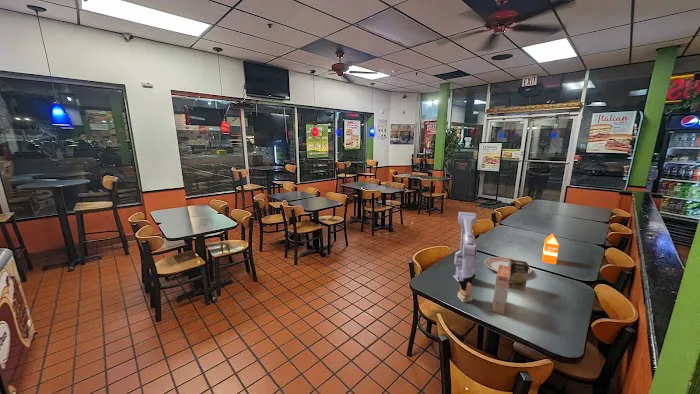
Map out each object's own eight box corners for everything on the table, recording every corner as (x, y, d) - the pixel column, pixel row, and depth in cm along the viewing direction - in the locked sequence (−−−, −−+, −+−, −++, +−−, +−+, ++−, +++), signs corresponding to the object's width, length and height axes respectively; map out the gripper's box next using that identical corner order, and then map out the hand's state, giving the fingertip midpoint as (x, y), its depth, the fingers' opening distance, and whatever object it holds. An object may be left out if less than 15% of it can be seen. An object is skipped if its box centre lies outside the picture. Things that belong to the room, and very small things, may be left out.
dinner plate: (486, 275, 175) (486, 270, 174) (482, 258, 200) (483, 253, 199) (535, 283, 165) (536, 278, 164) (525, 264, 189) (526, 259, 189)
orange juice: (554, 259, 195) (559, 234, 191) (556, 264, 188) (560, 237, 184) (541, 257, 199) (545, 232, 195) (542, 261, 192) (546, 235, 188)
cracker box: (504, 315, 134) (509, 278, 130) (491, 311, 138) (495, 274, 133) (506, 301, 146) (511, 266, 141) (494, 298, 149) (498, 263, 144)
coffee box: (507, 288, 159) (511, 263, 155) (505, 282, 165) (508, 258, 161) (525, 291, 156) (529, 265, 152) (522, 285, 162) (526, 261, 158)
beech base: (466, 295, 152) (466, 291, 151) (472, 301, 146) (472, 296, 146) (457, 296, 151) (457, 292, 150) (462, 302, 146) (463, 297, 145)
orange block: (465, 290, 150) (466, 280, 149) (470, 294, 147) (471, 284, 146) (459, 291, 149) (460, 282, 148) (464, 295, 145) (465, 285, 144)
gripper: (466, 259, 152) (464, 280, 155) (454, 267, 142) (452, 290, 145) (479, 263, 147) (477, 285, 150) (467, 271, 137) (465, 295, 140)
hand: (465, 288), depth 147 cm, fingers open, 5 cm apart
